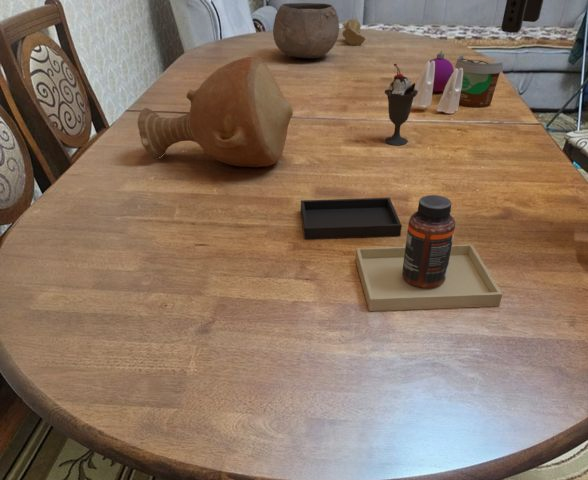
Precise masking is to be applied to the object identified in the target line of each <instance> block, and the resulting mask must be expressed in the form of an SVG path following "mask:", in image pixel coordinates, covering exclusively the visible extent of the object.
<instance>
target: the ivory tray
mask: <svg viewBox="0 0 588 480" xmlns="http://www.w3.org/2000/svg"><path fill="white" fill-rule="evenodd" d="M405 246H406V245H404V246H378V247H356V248H355V258H354V259H355V263H356V267H357V271H358V275H359V278H360V282H361V287H362V290H363V293H364V297H365V300H366V304H367V308H368V311H369V312H381V311H382V312H385V311H408V310H410V311H411V310H431V309H432V310H435V309H460V308H461V309H463V308H487V307H488V308H489V307H500V305H501V301H502V298H503V292H502V290H501V289H500V287H499V286H498V284H497V283H496V281H495V279H494V277H493V275H492V274H491V272H490V271H489V269H488V268H487V266H486V265H485V262H483V260H482V258H481V255H479V253H478V252H477V249H476V248H475V247H474V244H473V243H463V244H452V247H451V253H450V258H449V264H448V269H447V274H446V278H445V281H444V282H443V283H442V284H441V285H439V286H436V287H432V288H421V287H416V286H413V285H411V284H409V283H408V282H406V281H405V280H404V278H403V275H402V272H403V263H404V254H405Z"/></svg>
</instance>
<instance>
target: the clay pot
mask: <svg viewBox="0 0 588 480" xmlns="http://www.w3.org/2000/svg"><path fill="white" fill-rule="evenodd" d="M336 10H337V9H335V8H334V6H333V5H332V4H328V3H318V2H289V3H287V2H286V3H282V4H281V5H280V7H279V8H278V10H277V11H276V14H275V17H274V21H273V27H272V35H273V40H274V43H275V45H276V47H277V48H278V50H280V52H281V53H283V54H285V55H286V56H289V57H291V58H296V59H318V58H321V57H324V56H325V55H326V54H328V53H329V52H330V51H331V50H332V49H333V48H334V46H335V44H336V43H337V41H338V38H339V34H340V21H339V15H338V14H337V11H336Z"/></svg>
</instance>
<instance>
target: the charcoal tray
mask: <svg viewBox="0 0 588 480" xmlns="http://www.w3.org/2000/svg"><path fill="white" fill-rule="evenodd" d="M300 215H301V216H300V217H301V222H302V230H303V237H304V240H327V239H329V240H330V239H355V238H384V237H386V238H387V237H401V235H402V228H403V227H402V223H401V221H400V218H399V216H398V214H397V212H396V208H395V207H394V205H393V202H392V199H391V198H390V197H369V198H367V197H366V198H364V197H363V198H335V199H304V200H300Z"/></svg>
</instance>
